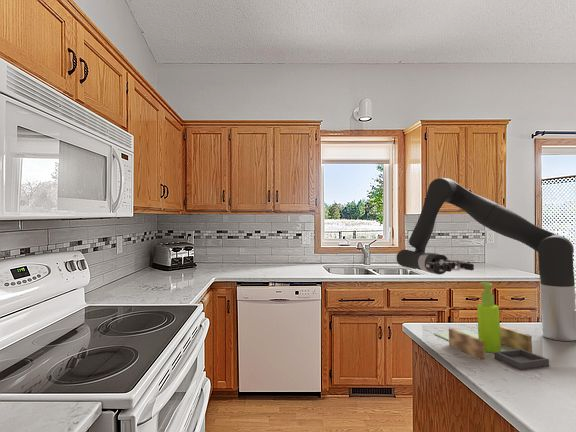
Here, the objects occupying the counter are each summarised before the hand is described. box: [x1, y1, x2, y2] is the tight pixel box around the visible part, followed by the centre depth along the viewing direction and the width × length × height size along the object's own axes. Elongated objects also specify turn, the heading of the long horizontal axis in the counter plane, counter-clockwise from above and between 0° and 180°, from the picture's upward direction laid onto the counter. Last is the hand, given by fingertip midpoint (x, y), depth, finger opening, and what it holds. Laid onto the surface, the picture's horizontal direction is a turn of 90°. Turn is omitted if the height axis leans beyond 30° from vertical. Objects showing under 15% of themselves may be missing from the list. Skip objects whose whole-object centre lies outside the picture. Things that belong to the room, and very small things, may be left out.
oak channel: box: [448, 325, 533, 360], centre depth 117 cm, size 14×17×5 cm
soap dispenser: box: [476, 281, 502, 353], centre depth 117 cm, size 6×7×20 cm
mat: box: [433, 329, 478, 342], centre depth 130 cm, size 11×13×1 cm
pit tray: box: [493, 349, 550, 371], centre depth 106 cm, size 9×9×2 cm
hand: (461, 267), depth 129 cm, fingers open, 8 cm apart
